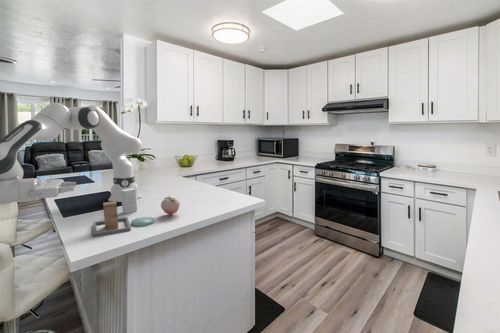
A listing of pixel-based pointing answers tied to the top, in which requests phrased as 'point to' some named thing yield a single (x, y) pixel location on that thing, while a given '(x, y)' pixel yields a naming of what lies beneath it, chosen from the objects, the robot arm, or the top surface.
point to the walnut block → (110, 215)
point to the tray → (111, 230)
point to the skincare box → (128, 200)
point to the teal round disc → (142, 221)
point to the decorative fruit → (170, 205)
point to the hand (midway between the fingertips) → (74, 186)
